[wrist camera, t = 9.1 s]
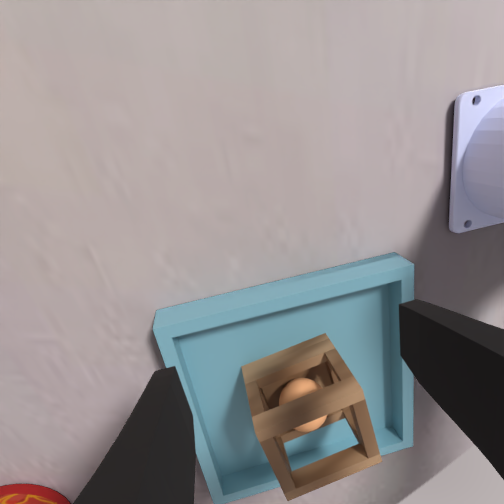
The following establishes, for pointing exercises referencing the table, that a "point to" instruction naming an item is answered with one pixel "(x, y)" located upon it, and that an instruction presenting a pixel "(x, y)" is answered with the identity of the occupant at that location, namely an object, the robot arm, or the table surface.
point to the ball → (298, 390)
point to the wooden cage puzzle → (309, 413)
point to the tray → (279, 338)
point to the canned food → (30, 495)
